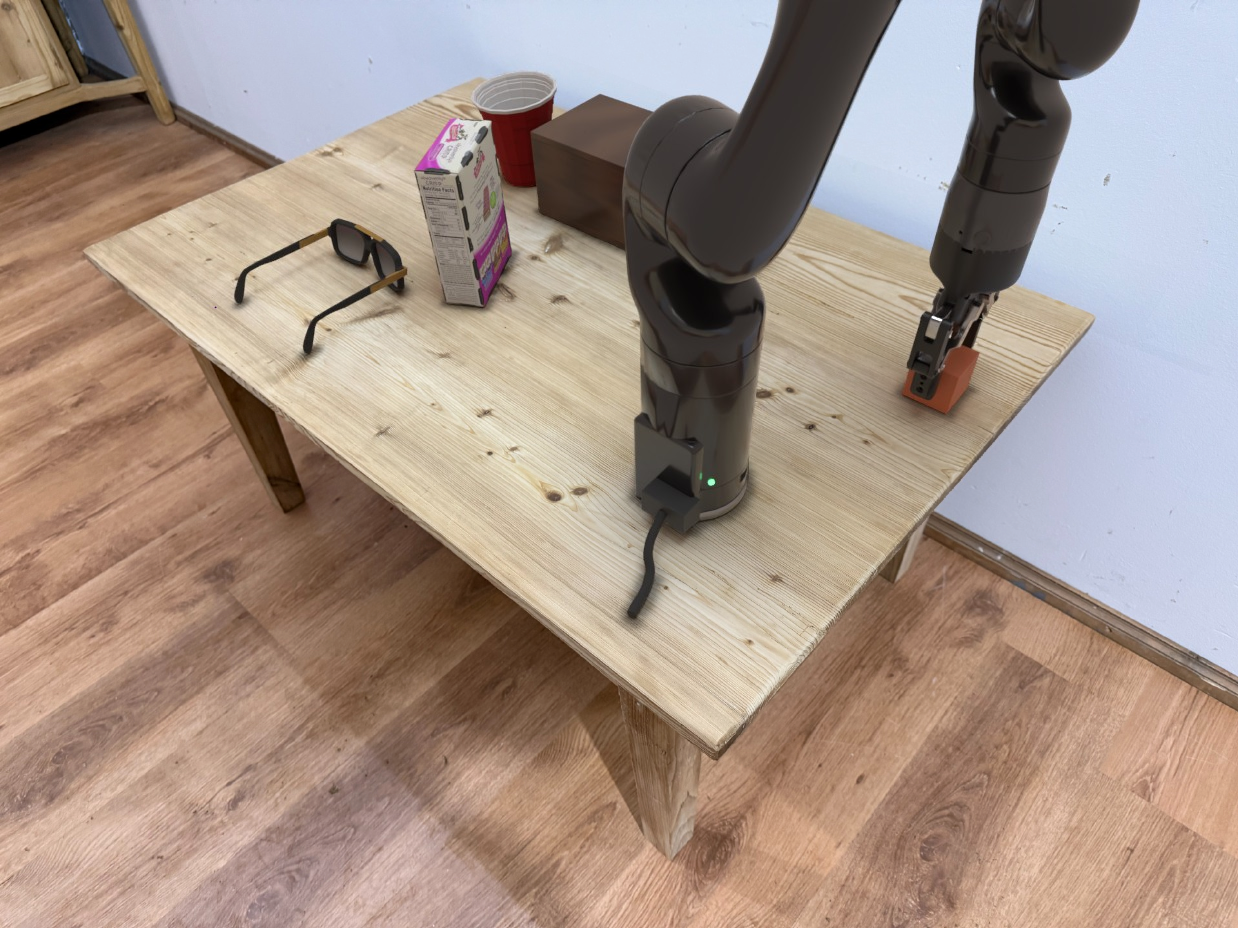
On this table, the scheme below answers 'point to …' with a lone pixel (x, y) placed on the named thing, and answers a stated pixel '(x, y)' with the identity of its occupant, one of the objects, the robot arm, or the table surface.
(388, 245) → the sunglasses
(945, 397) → the block
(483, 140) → the candy bar box
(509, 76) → the plastic cup
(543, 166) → the dark wooden cube
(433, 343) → the table surface
